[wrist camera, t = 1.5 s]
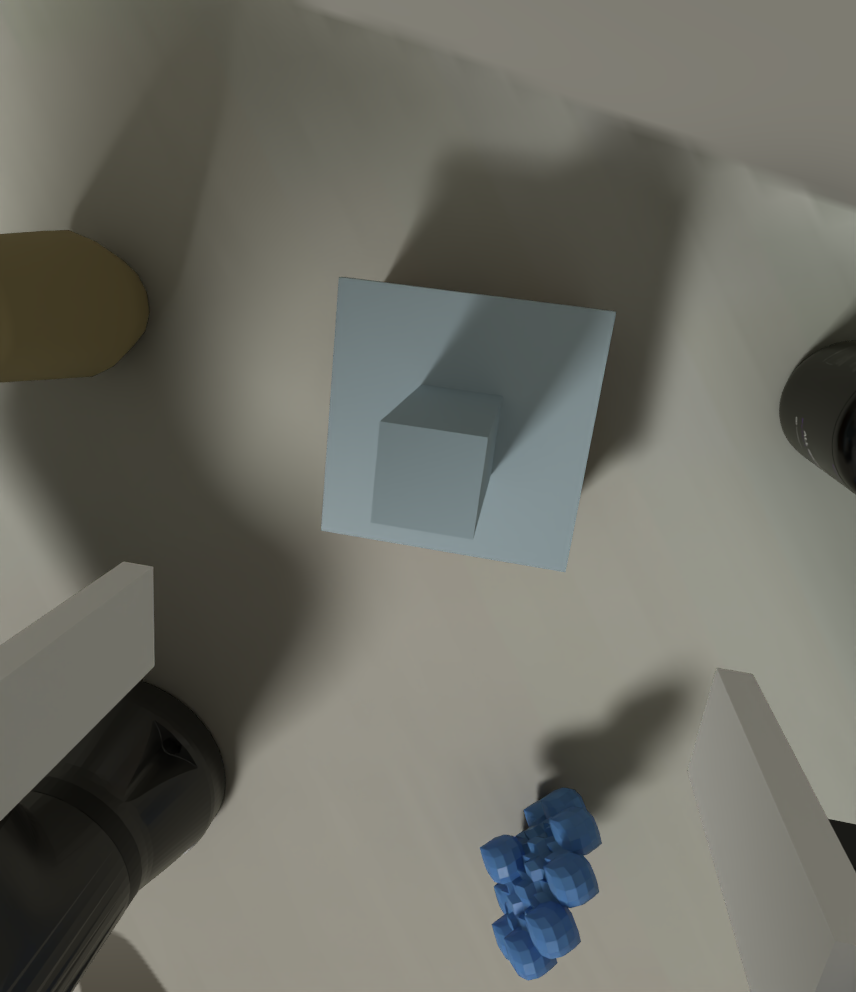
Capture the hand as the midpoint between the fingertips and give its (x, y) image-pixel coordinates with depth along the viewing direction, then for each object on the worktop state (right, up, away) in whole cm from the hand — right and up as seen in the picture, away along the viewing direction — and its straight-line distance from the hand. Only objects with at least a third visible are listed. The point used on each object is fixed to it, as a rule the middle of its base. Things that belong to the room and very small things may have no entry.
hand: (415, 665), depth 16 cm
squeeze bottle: (-19, +16, +27) cm, 37 cm away
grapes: (+8, -17, +33) cm, 38 cm away
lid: (+2, +7, +19) cm, 21 cm away
